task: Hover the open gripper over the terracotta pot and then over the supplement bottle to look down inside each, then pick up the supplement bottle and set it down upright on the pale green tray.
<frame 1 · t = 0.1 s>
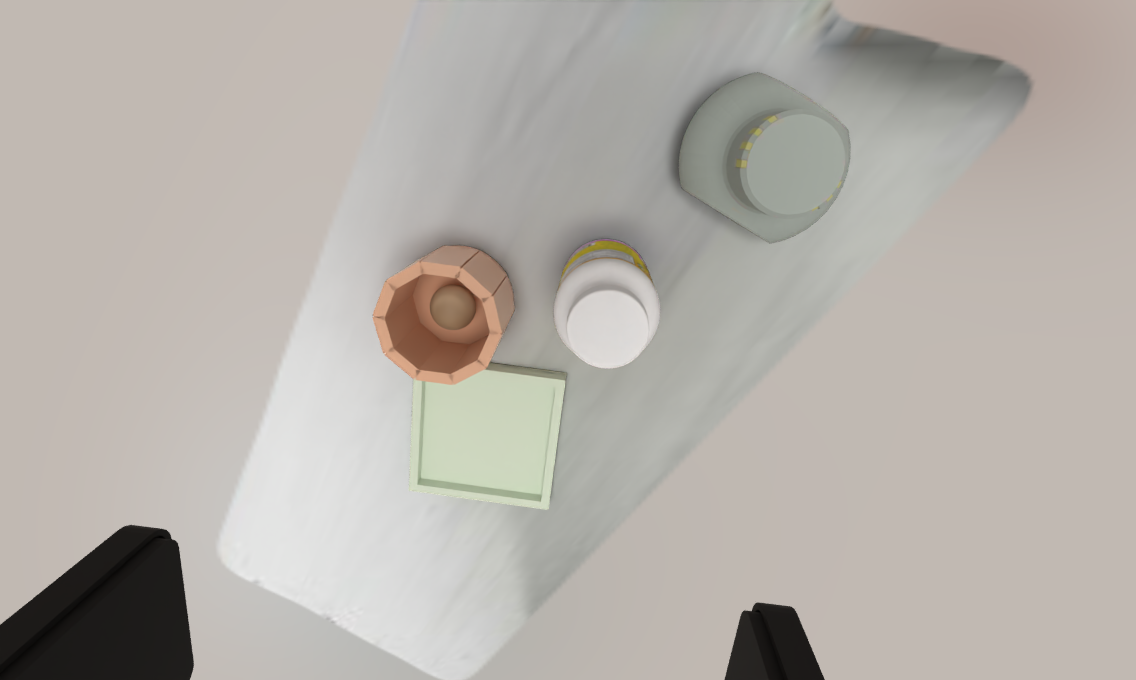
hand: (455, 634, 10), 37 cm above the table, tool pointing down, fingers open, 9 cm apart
tray: (487, 428, 50), on the table
supplement bottle: (605, 279, 45), on the table
pot: (460, 298, 46), on the table
cork ball: (458, 301, 45), point 1 cm above the table, touching pot
air freshener: (750, 160, 42), on the table
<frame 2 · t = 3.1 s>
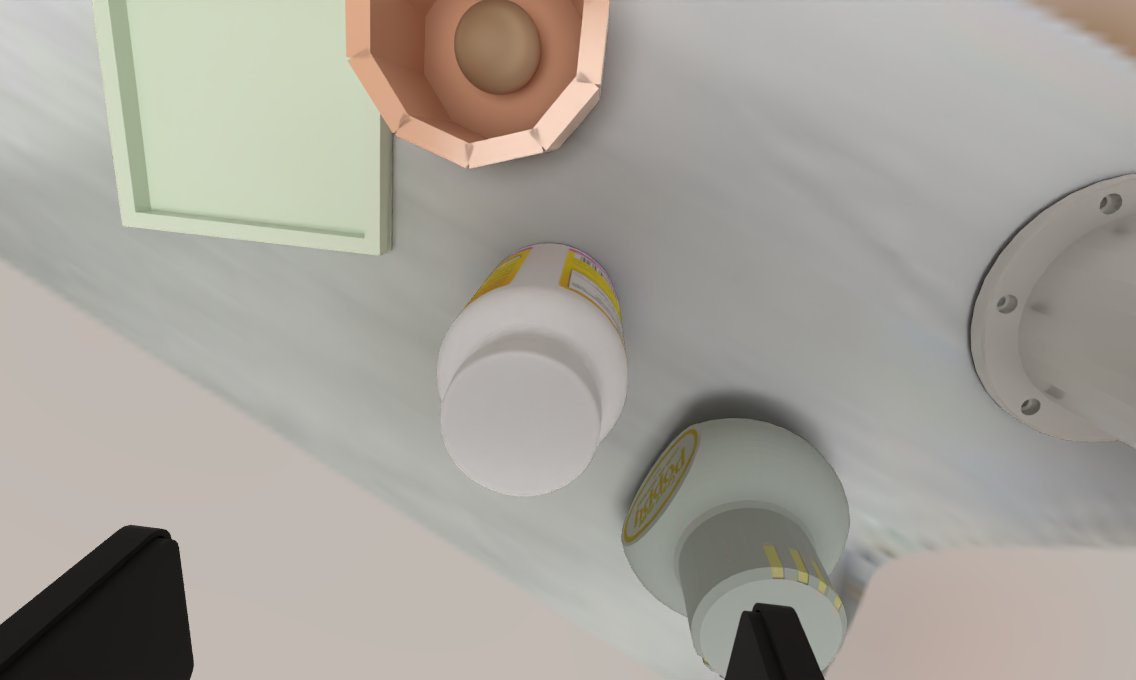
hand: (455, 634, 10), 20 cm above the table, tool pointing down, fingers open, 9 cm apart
tray: (261, 103, 27), on the table
supplement bottle: (552, 307, 29), on the table
pot: (507, 56, 25), on the table
cork ball: (504, 54, 25), point 1 cm above the table, touching pot
air freshener: (718, 487, 32), on the table
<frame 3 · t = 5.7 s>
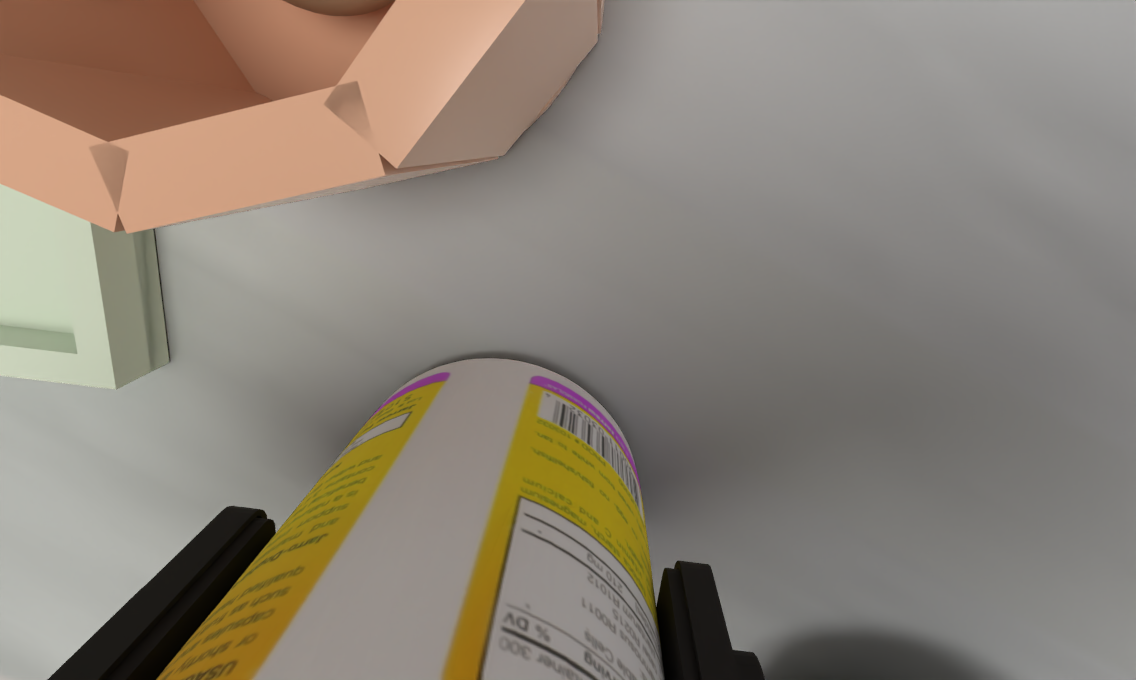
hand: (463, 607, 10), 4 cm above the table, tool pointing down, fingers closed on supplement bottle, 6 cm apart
supplement bottle: (503, 472, 14), on the table, touching gripper
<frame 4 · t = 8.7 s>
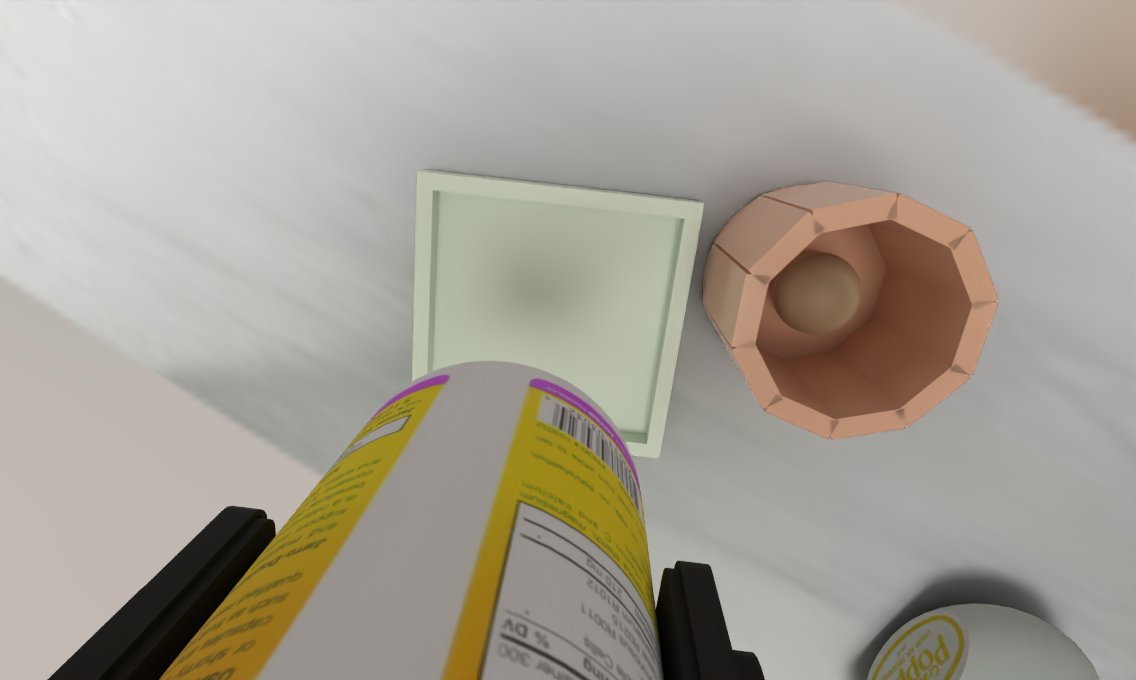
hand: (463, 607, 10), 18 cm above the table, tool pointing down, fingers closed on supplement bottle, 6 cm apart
tray: (549, 315, 28), on the table
supplement bottle: (503, 475, 14), point 14 cm above the table, touching gripper
pot: (796, 279, 27), on the table
cork ball: (802, 283, 26), point 1 cm above the table, touching pot
air freshener: (943, 651, 33), on the table
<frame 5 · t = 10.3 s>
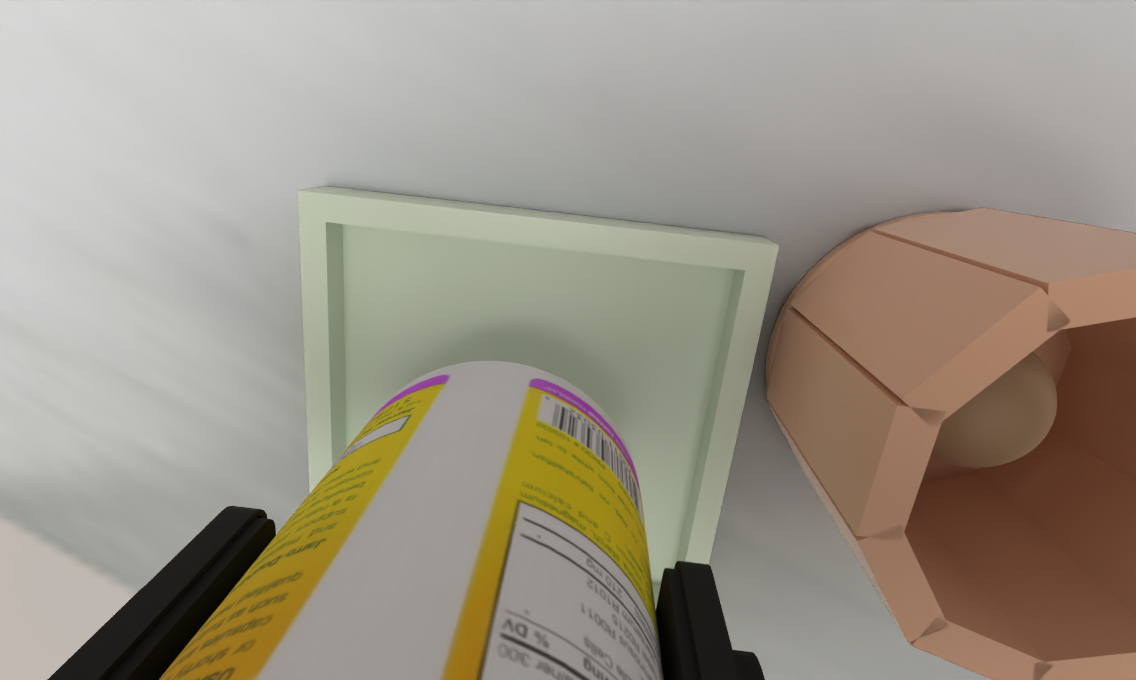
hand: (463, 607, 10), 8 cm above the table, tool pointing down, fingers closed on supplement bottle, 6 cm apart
tray: (524, 409, 18), on the table
supplement bottle: (503, 475, 14), point 4 cm above the table, touching gripper
pot: (915, 361, 17), on the table
cork ball: (930, 371, 16), point 1 cm above the table, touching pot
when the fingers open (6 cm above the table, at t = 11.7 s): supplement bottle drops 1 cm, resting on tray.
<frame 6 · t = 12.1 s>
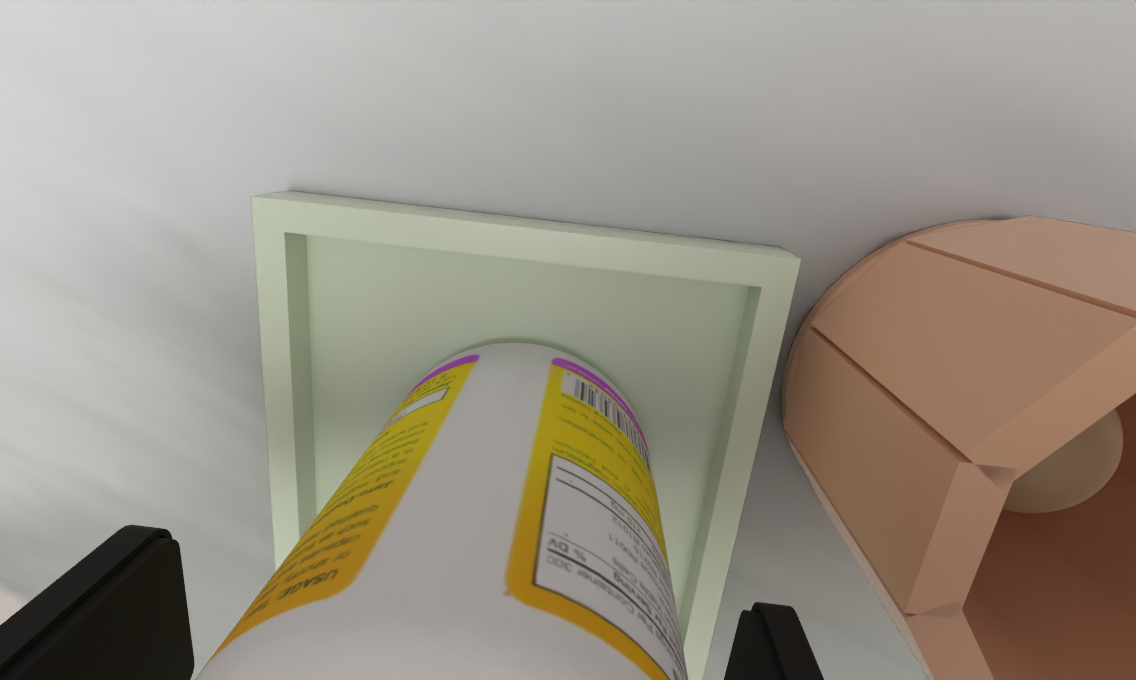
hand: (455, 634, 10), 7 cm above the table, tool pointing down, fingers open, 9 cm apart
tray: (513, 438, 16), on the table
supplement bottle: (523, 449, 16), resting on tray
pot: (949, 385, 15), on the table
cork ball: (967, 398, 14), point 1 cm above the table, touching pot
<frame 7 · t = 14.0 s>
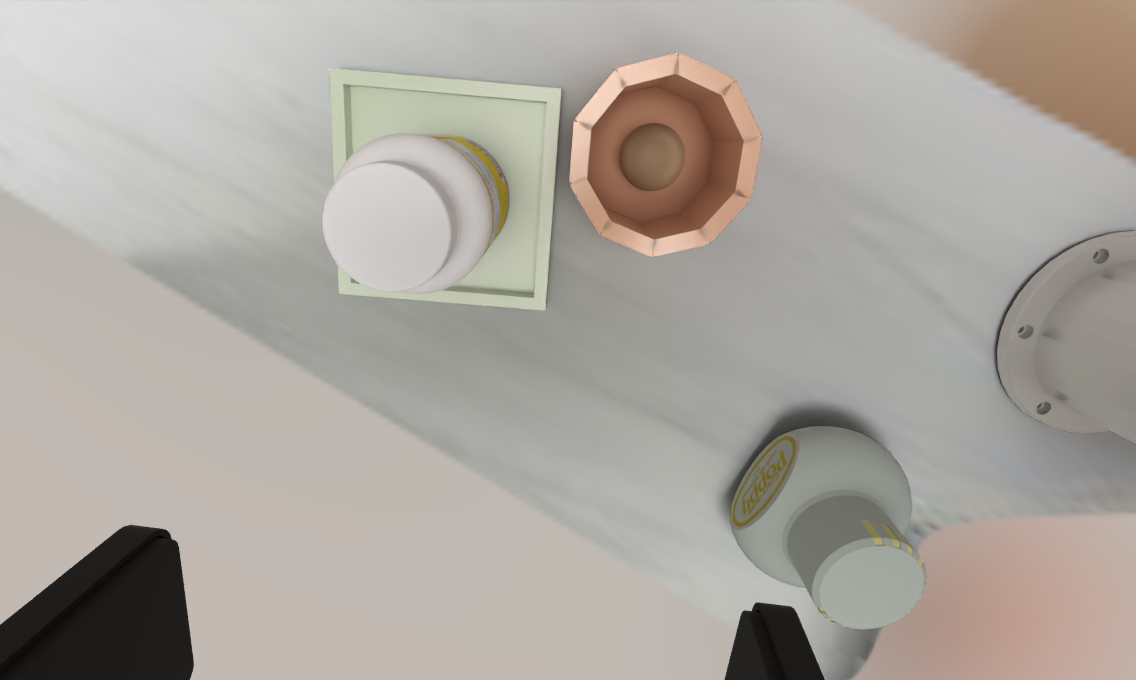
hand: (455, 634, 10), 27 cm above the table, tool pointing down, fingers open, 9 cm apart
tray: (449, 194, 34), on the table
supplement bottle: (454, 196, 33), resting on tray
pot: (646, 156, 33), on the table
cork ball: (648, 156, 32), point 1 cm above the table, touching pot
air freshener: (799, 480, 40), on the table
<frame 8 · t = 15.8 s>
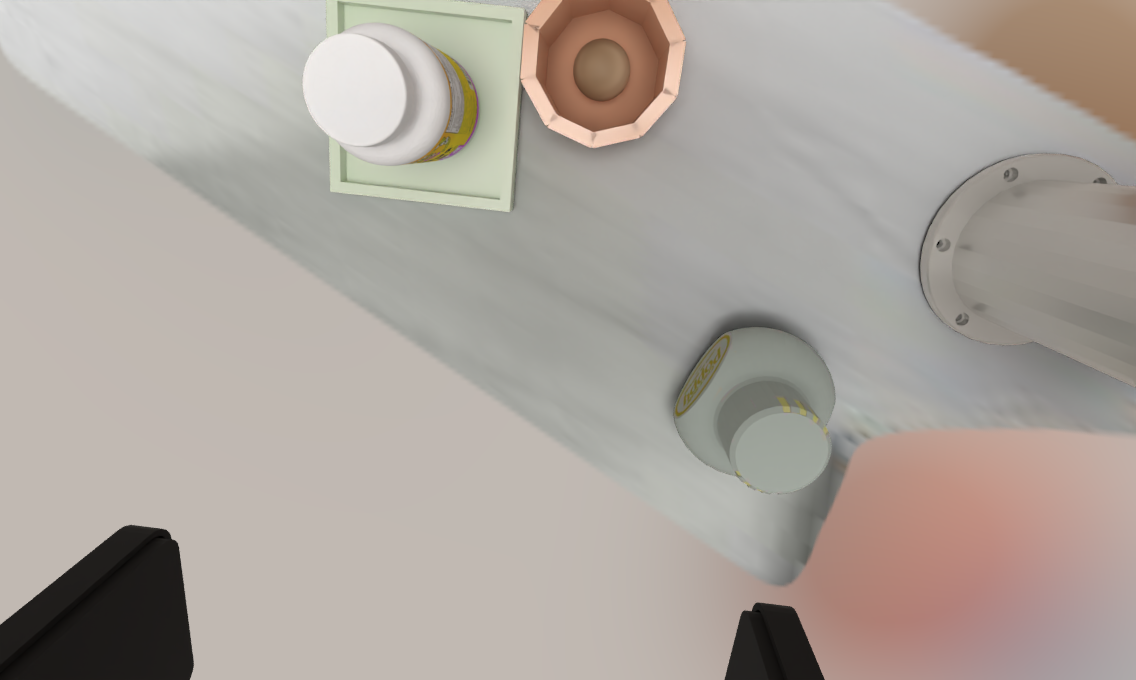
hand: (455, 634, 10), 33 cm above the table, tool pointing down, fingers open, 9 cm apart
tray: (429, 106, 39), on the table
supplement bottle: (432, 107, 38), resting on tray
pot: (601, 75, 37), on the table
cork ball: (601, 73, 37), point 1 cm above the table, touching pot
air freshener: (741, 385, 44), on the table
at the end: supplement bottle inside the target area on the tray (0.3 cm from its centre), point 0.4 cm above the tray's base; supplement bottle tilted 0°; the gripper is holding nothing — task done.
